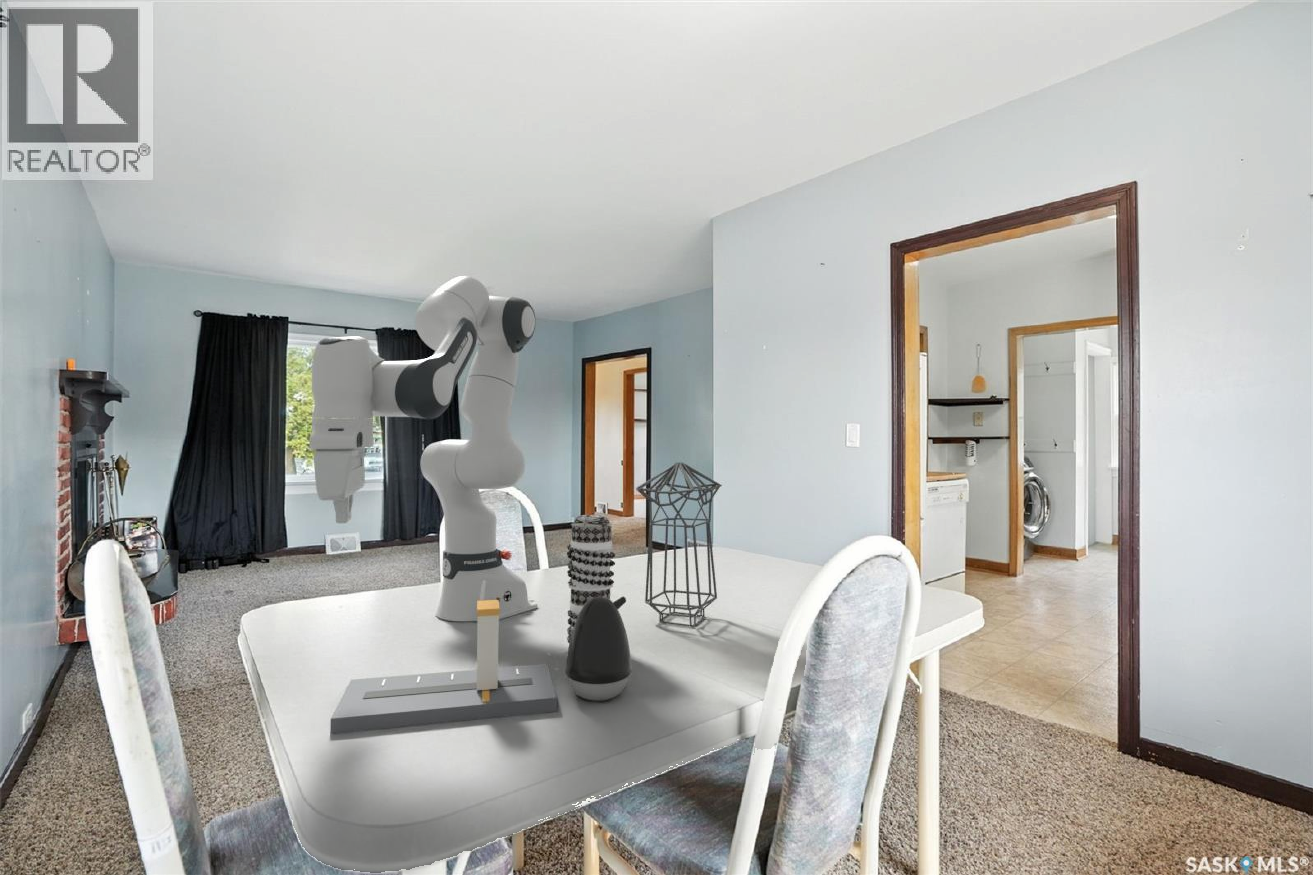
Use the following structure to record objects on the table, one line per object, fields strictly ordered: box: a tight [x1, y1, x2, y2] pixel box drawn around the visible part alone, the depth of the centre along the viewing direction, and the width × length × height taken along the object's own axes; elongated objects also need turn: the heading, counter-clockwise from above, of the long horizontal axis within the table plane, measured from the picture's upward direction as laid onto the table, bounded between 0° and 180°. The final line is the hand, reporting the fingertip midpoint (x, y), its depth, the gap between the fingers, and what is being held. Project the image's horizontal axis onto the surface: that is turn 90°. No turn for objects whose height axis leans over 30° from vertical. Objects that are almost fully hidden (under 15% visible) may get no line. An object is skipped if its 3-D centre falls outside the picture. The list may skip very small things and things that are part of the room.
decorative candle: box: [566, 514, 616, 648], centre depth 121 cm, size 9×9×25 cm
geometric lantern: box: [635, 461, 723, 628], centre depth 140 cm, size 16×16×35 cm
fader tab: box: [476, 600, 500, 690], centre depth 97 cm, size 3×5×12 cm, turn 16°
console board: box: [329, 663, 558, 735], centre depth 95 cm, size 30×14×2 cm, turn 106°
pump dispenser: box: [565, 596, 632, 702], centre depth 99 cm, size 10×10×15 cm
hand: (343, 522), depth 102 cm, fingers closed
